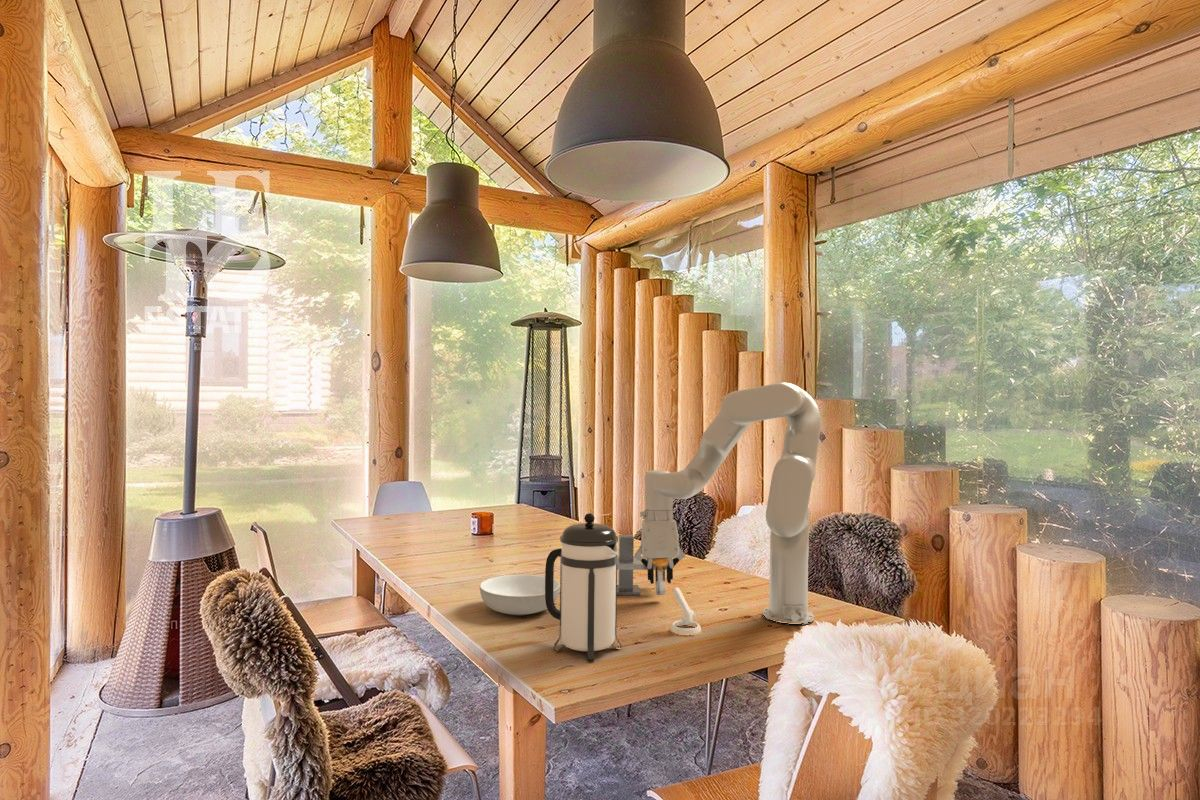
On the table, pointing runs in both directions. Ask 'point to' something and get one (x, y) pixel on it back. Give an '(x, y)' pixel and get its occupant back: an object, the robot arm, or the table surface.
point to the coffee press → (585, 587)
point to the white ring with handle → (684, 616)
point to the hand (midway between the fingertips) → (660, 581)
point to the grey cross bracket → (628, 566)
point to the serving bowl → (516, 593)
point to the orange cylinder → (660, 574)
